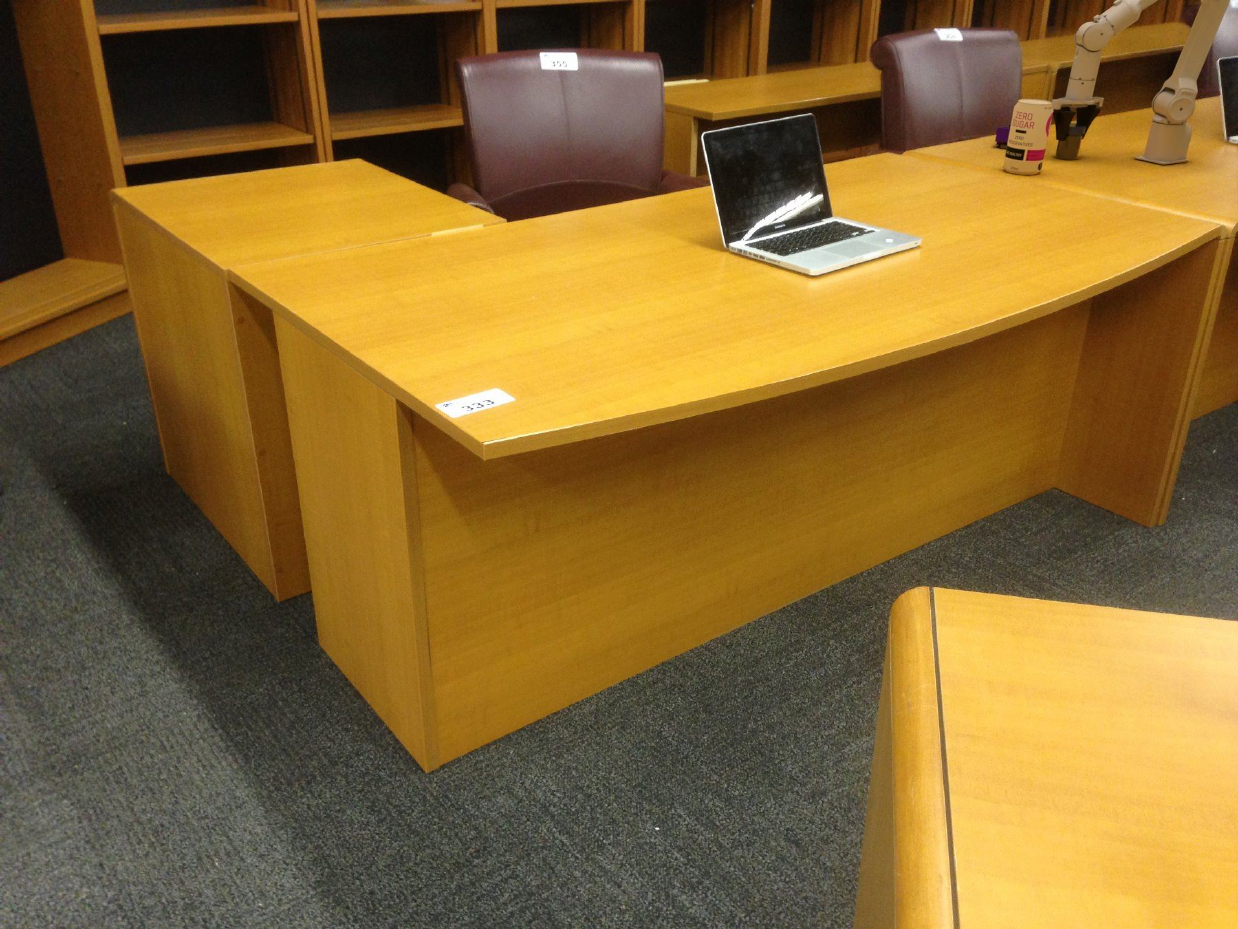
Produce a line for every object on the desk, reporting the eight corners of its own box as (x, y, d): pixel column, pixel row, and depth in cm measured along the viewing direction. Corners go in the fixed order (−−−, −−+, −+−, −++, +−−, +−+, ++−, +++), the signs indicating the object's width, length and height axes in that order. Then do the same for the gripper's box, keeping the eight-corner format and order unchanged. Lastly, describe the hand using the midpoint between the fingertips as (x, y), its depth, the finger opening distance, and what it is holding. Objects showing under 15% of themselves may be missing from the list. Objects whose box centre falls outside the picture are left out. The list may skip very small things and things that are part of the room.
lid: (1053, 130, 249) (1055, 122, 248) (1074, 129, 250) (1075, 122, 249) (1068, 134, 244) (1070, 127, 243) (1089, 134, 245) (1091, 126, 244)
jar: (1064, 154, 253) (1070, 124, 249) (1081, 158, 249) (1088, 128, 246) (1050, 156, 250) (1056, 126, 247) (1067, 160, 247) (1074, 130, 243)
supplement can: (1040, 169, 238) (1054, 99, 231) (1040, 176, 231) (1055, 105, 224) (1002, 166, 240) (1015, 97, 233) (1002, 173, 233) (1015, 102, 226)
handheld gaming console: (1047, 127, 265) (1036, 129, 253) (1042, 149, 267) (1031, 151, 255) (1009, 123, 269) (997, 125, 257) (1005, 144, 271) (992, 147, 259)
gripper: (1073, 82, 235) (1060, 144, 242) (1119, 79, 241) (1104, 140, 247) (1049, 78, 241) (1036, 138, 247) (1094, 75, 247) (1081, 135, 253)
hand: (1069, 139), depth 248 cm, fingers closed on lid, 5 cm apart
